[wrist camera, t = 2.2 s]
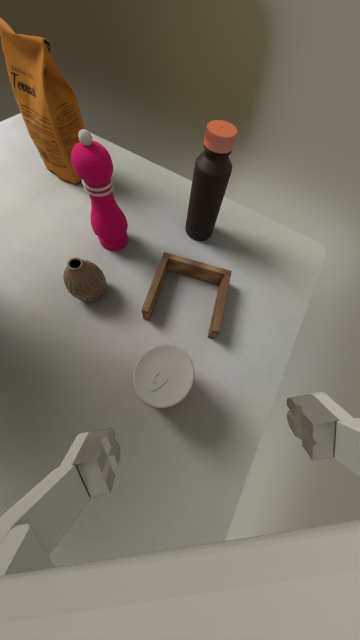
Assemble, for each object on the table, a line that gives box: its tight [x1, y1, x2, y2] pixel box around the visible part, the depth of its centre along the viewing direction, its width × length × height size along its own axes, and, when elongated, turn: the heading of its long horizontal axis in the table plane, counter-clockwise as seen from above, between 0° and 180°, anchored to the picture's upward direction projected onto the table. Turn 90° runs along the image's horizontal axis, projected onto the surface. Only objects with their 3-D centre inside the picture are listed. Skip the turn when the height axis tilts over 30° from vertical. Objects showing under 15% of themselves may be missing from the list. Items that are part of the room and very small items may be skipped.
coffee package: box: [0, 17, 85, 184], centre depth 43 cm, size 10×12×22 cm
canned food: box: [133, 344, 194, 408], centre depth 29 cm, size 8×8×11 cm
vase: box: [64, 258, 106, 301], centre depth 36 cm, size 7×7×9 cm
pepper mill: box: [71, 129, 128, 250], centre depth 36 cm, size 7×7×20 cm
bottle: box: [186, 120, 237, 240], centre depth 40 cm, size 7×7×20 cm
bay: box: [142, 252, 232, 339], centre depth 39 cm, size 14×14×4 cm
